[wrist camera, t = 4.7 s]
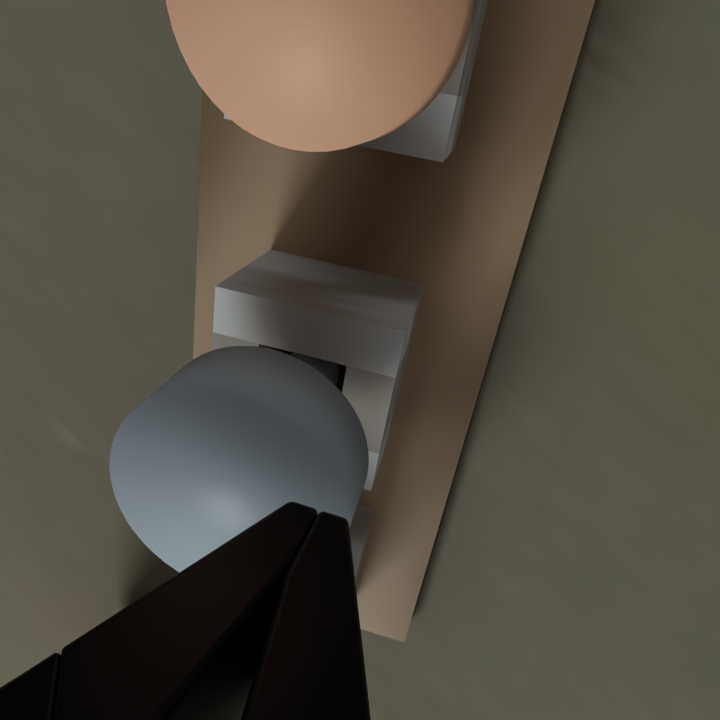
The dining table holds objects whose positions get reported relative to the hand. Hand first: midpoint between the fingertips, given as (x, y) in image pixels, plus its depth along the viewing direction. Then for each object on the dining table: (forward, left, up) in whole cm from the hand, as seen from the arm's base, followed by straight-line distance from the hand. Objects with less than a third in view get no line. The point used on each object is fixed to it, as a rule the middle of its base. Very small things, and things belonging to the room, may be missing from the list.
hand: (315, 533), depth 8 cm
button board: (+2, +2, -12) cm, 12 cm away
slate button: (+2, +2, -8) cm, 9 cm away
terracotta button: (+2, -7, -10) cm, 13 cm away
